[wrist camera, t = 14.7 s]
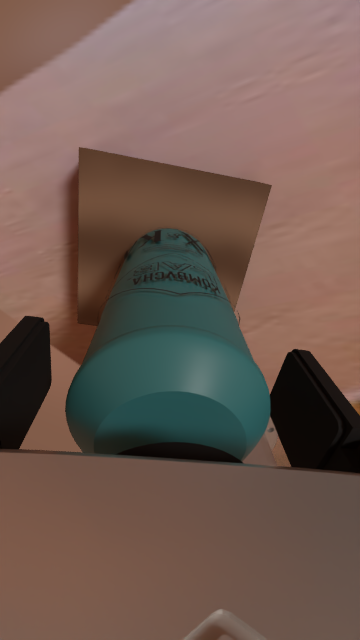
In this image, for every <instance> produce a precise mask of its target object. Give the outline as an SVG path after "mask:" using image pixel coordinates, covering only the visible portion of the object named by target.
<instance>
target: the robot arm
mask: <svg viewBox="0 0 360 640" xmlns="http://www.w3.org/2000/svg"><path fill="white" fill-rule="evenodd" d="M50 386H51V357H50V331H49V323H48V322H44V319H43V318H41V317H33V316H25V317H24V318H23V319H22V320H21V321H20V322H19V323H18V324H17V326H16V327H15V328H14V329H13V330H12V331H11V332H10V333H9V334H8V335H7V336H6V338H5V339H4V340H3V341H2V342H1V343H0V640H360V416H359V414H358V413H357V412H356V410H355V409H354V408H353V407H352V405H351V404H350V403H349V401H348V400H347V399H346V398H345V396H344V395H343V394H342V392H341V391H340V390H339V389H338V387H337V386H336V385H335V383H334V382H333V381H332V380H331V378H330V377H329V376H328V374H327V373H326V372H325V370H324V369H323V368H322V367H321V365H320V364H319V363H318V361H317V360H316V359H315V358H314V356H313V355H312V354H311V352H309V351H306V350H298V349H294V350H292V351H291V352H289V353H288V354H287V355H286V358H285V360H284V363H283V365H282V367H281V370H280V372H279V375H278V377H277V379H276V382H275V384H274V386H273V389H272V391H271V394H270V418H269V422H268V425H267V428H266V430H265V432H264V434H263V436H262V437H261V439H260V441H259V442H258V444H257V445H256V446H255V448H254V449H253V450H252V452H251V453H250V454H249V455H248V456H247V457H246V458H245V459H244V460H243V461H242V462H243V463H244V464H243V463H229V462H215V461H201V460H187V459H172V458H158V457H143V456H127V455H112V454H96V453H81V452H63V451H44V450H22V449H19V448H20V446H21V444H22V442H23V440H24V438H25V436H26V434H27V432H28V430H29V428H30V426H31V424H32V422H33V420H34V418H35V416H36V414H37V412H38V410H39V409H40V407H41V405H42V403H43V401H44V399H45V397H46V395H47V393H48V391H49V389H50ZM277 436H279V438H280V441H281V443H282V445H283V448H284V450H285V453H286V455H287V457H288V460H289V462H290V464H291V467H283V466H277V464H276V461H275V458H274V456H273V453H272V449H273V448H274V446H275V444H276V441H277Z"/></svg>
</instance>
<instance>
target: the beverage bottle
mask: <svg viewBox="0 0 360 640" xmlns="http://www.w3.org/2000/svg"><path fill="white" fill-rule="evenodd" d="M159 228H160V227H159ZM174 228H175V227H174ZM174 228H173V229H171V228H170V229H169V228H165V229H164V228H160V229H158V230H156V229H155V230H153V231H150V232H149V233H148V232H147V234H145V235H144V234H143V236H142V237H141V236H140V237H141V238H139V239H138V238H137V239H138V240H137V239H136V240H137V241H135V242H134V244H133V246H132V247H131V248H130V249H129V250H127V252H126V253H125V255H124V260H125V261H124V263H123V266H122V267H121V269H120V271H119V275H118V277H117V280H116V282H115V285H114V287H113V288H112V292H111V291H110V292H111V294H110V296H108V295H107V296H108V297H109V299H108V301H107V302H106V305H105V304H104V305H105V308H104V310H103V313H102V315H101V320H100V322H99V323H98V327H97V329H96V332H95V334H94V337H93V339H92V341H91V344H90V346H89V349H88V351H87V353H86V356H85V358H84V360H83V363H82V365H81V367H80V368H79V370H78V371H77V373H76V374H75V376H74V378H73V381H72V383H71V385H70V388H69V390H68V394H67V399H66V408H65V409H66V410H65V412H66V418H67V423H68V426H69V429H70V432H71V434H72V436H73V438H74V440H75V442H76V443H77V445H78V446H79V447H80V449H81V450H82V452H83V453H96V454H112V455H127V456H143V457H158V458H172V459H187V460H201V461H215V462H229V463H243V462H242V461H243V460H244V459H245V458H246V457H247V456H248V455H249V454H250V453H251V452H252V450H253V449H254V448H255V446H256V445H257V444H258V442H259V441H260V439H261V437H262V436H263V434H264V432H265V430H266V428H267V425H268V422H269V418H270V395H269V389H268V387H267V384H266V381H265V379H264V376H263V374H262V372H261V371H260V369H259V367H258V366H257V364H256V363H255V362H254V360H253V358H252V355H251V353H250V351H249V348H248V346H247V344H246V341H245V339H244V337H243V335H242V332H241V330H240V328H239V325H238V321H237V319H236V316H235V314H234V311H233V308H232V307H231V305H230V303H231V301H230V302H229V300H228V298H229V297H230V296H229V297H228V296H226V295H227V294H225V291H224V289H223V287H222V285H221V282H220V280H219V278H218V276H217V274H216V271H215V270H216V267H213V266H214V265H212V263H211V260H210V258H209V256H208V254H207V252H208V250H207V249H206V250H207V252H206V250H205V248H206V247H205V245H204V247H205V248H204V247H203V246H202V244H201V243H200V241H198V240H197V239H198V237H197V239H196V238H194V237H195V236H194V237H193V236H191V235H192V233H191V235H190V233H189V234H188V232H187V233H186V232H183V231H180V230H178V229H177V230H176V229H174ZM179 229H180V228H179ZM151 230H152V229H151ZM185 231H186V230H185ZM141 235H142V234H141ZM193 235H194V234H193ZM130 246H131V245H130ZM128 251H129V252H128ZM208 253H209V252H208ZM209 255H210V257H211V254H210V253H209ZM211 259H212V257H211ZM212 261H213V259H212ZM122 262H123V261H122ZM213 262H214V261H213ZM214 264H215V263H214ZM120 266H121V264H120ZM120 266H119V268H120ZM215 266H216V265H215ZM119 268H118V270H119ZM214 268H215V269H214ZM118 270H117V272H118ZM116 274H117V273H116ZM115 276H116V275H115ZM114 279H115V278H114ZM112 282H114V281H112ZM111 284H112V283H111ZM110 289H111V288H110ZM226 289H227V288H226ZM226 291H227V290H226ZM108 292H109V291H108ZM227 293H228V292H227ZM228 295H229V294H228ZM227 297H228V298H227ZM106 298H107V297H106ZM106 298H105V299H106ZM229 299H230V298H229ZM231 299H232V298H231ZM231 304H232V303H231ZM232 305H233V304H232ZM102 306H103V305H102ZM102 306H101V307H102ZM233 306H234V305H233ZM234 307H235V306H234ZM237 312H238V311H237ZM98 314H99V313H98ZM238 315H239V314H238ZM239 321H240V319H239ZM243 464H244V463H243Z"/></svg>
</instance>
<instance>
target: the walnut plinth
mask: <svg viewBox="0 0 360 640" xmlns="http://www.w3.org/2000/svg"><path fill="white" fill-rule="evenodd" d="M271 186H272V185H268V184H264V183H260V182H255V181H250V180H245V179H240V178H235V177H229V176H224V175H219V174H214V173H209V172H204V171H199V170H194V169H189V168H184V167H179V166H174V165H169V164H164V163H159V162H154V161H148V160H143V159H138V158H133V157H128V156H123V155H118V154H113V153H108V152H103V151H98V150H93V149H87V148H80V147H79V206H78V323H79V324H88V325H96V326H98V323H99V322H100V320H101V315H102V313H103V310H104V308H105V305H106V302H107V301H108V299H109V297H108V296H110V294H111V292H112V288H113V287H114V285H115V282H116V280H117V277H118V275H119V271H120V269H121V267H122V266H123V263H124V261H125V260H124V255H125V253H126V252H127V250H129V249H130V248H131V247H132V246H133V244H134V242H135V241H137V240H138V239H139V238H141V237H142V236H143V234H144V235H145V234H147V232H148V233H149V232H150V231H153V230H155V229H156V230H158V229H160V228H164V229H165V228H169V229H170V228H171V229H173V228H174V227H175V228H174V229H176V230H177V229H178V230H180V231H183V232H186V233H187V232H188V234H189V233H190V235H191V233H192V235H191V236H193V237H194V236H195V237H194V238H196V239H197V237H198V239H197V240H198V241H200V243H201V244H202V246H203V247H204V245H205V247H206V248H205V247H204V248H205V250H206V249H207V250H208V252H209V253H210V254H211V257H212V259H213V261H214V262H213V261H212V259H211V257H210V255H209V253H208V252H207V250H206V252H207V254H208V256H209V258H210V260H211V263H212V265H214V266H213V267H216V270H215V271H216V274H217V276H218V278H219V280H220V282H221V285H222V287H223V289H224V291H225V294H227V295H226V296H228V297H229V296H230V297H229V298H230V299H229V298H228V297H227V298H228V300H229V302H230V301H231V303H232V304H233V305H234V306H235V307H234V306H233V305H232V304H231V303H230V305H231V307H232V308H233V311H235V308H236V304H237V301H238V298H239V294H240V291H241V287H242V284H243V281H244V277H245V274H246V271H247V267H248V264H249V260H250V257H251V254H252V250H253V247H254V243H255V240H256V237H257V233H258V230H259V227H260V223H261V220H262V216H263V213H264V210H265V206H266V203H267V200H268V196H269V193H270V189H271ZM159 227H160V228H159ZM179 228H180V229H179ZM151 229H152V230H151ZM185 230H186V231H185ZM141 234H142V235H141ZM193 234H194V235H193ZM140 236H141V237H140ZM137 238H138V239H137ZM136 239H137V240H136ZM130 245H131V246H130ZM128 252H129V251H128ZM122 261H123V262H122ZM214 263H215V264H214ZM120 264H121V266H120ZM215 265H216V266H215ZM119 266H120V268H119ZM118 268H119V270H118ZM214 269H215V268H214ZM117 270H118V272H117ZM116 273H117V274H116ZM115 275H116V276H115ZM114 278H115V279H114ZM112 281H114V282H112ZM111 283H112V284H111ZM110 288H111V289H110ZM226 288H227V289H226ZM226 290H227V291H226ZM108 291H109V292H108ZM110 291H111V292H110ZM227 292H228V293H227ZM228 294H229V295H228ZM107 295H108V296H107ZM106 297H107V298H106ZM105 298H106V299H105ZM231 298H232V299H231ZM104 304H105V305H104ZM102 305H103V306H102ZM101 306H102V307H101ZM98 313H99V314H98Z"/></svg>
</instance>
